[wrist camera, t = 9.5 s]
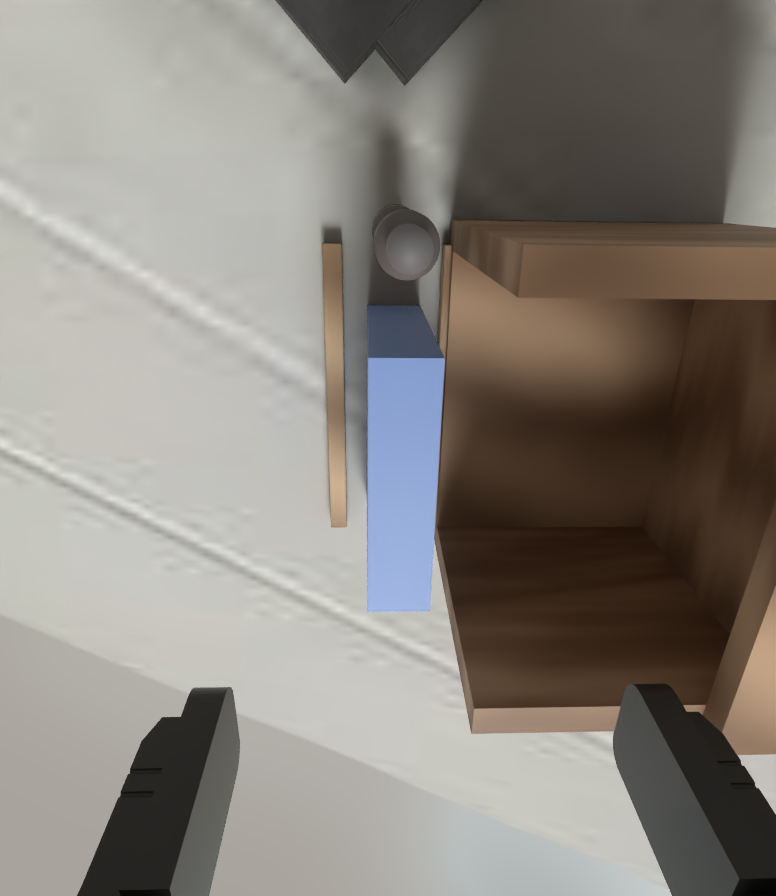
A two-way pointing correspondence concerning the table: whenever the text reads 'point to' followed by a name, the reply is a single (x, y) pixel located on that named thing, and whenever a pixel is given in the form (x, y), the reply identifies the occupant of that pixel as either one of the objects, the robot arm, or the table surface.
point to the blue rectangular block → (401, 456)
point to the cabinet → (597, 463)
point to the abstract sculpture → (378, 30)
